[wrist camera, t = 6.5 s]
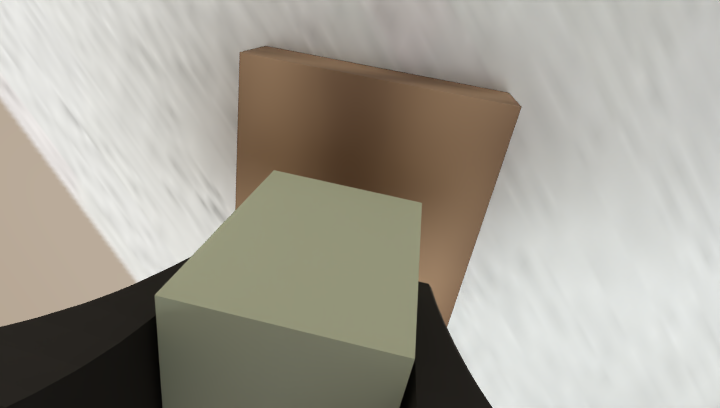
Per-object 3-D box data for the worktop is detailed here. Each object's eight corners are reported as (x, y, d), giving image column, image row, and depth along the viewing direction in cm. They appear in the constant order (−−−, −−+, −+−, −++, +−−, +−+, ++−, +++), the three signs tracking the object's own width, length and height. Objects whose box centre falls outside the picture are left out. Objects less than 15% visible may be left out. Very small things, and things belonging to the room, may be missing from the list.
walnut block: (506, 90, 17) (521, 107, 14) (444, 286, 21) (446, 326, 19) (269, 45, 17) (239, 52, 15) (257, 244, 22) (233, 277, 19)
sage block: (421, 202, 12) (415, 359, 7) (391, 318, 14) (366, 509, 9) (273, 170, 12) (154, 294, 7) (264, 288, 14) (165, 455, 9)
